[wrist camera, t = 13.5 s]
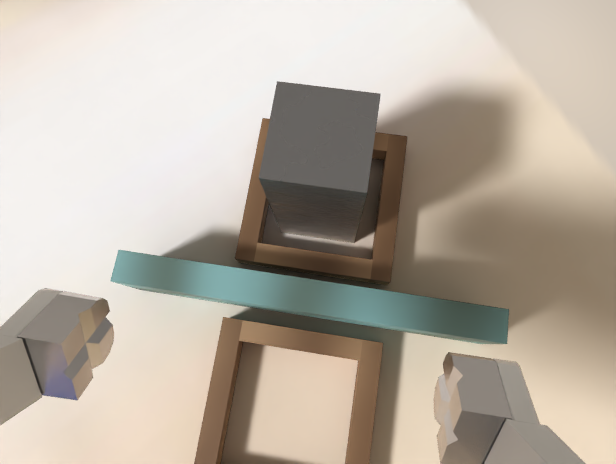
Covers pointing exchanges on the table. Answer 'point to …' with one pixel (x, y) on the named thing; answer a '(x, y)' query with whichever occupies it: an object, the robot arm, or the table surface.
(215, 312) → the table surface
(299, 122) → the gray block
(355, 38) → the table surface
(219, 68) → the table surface
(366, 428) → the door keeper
